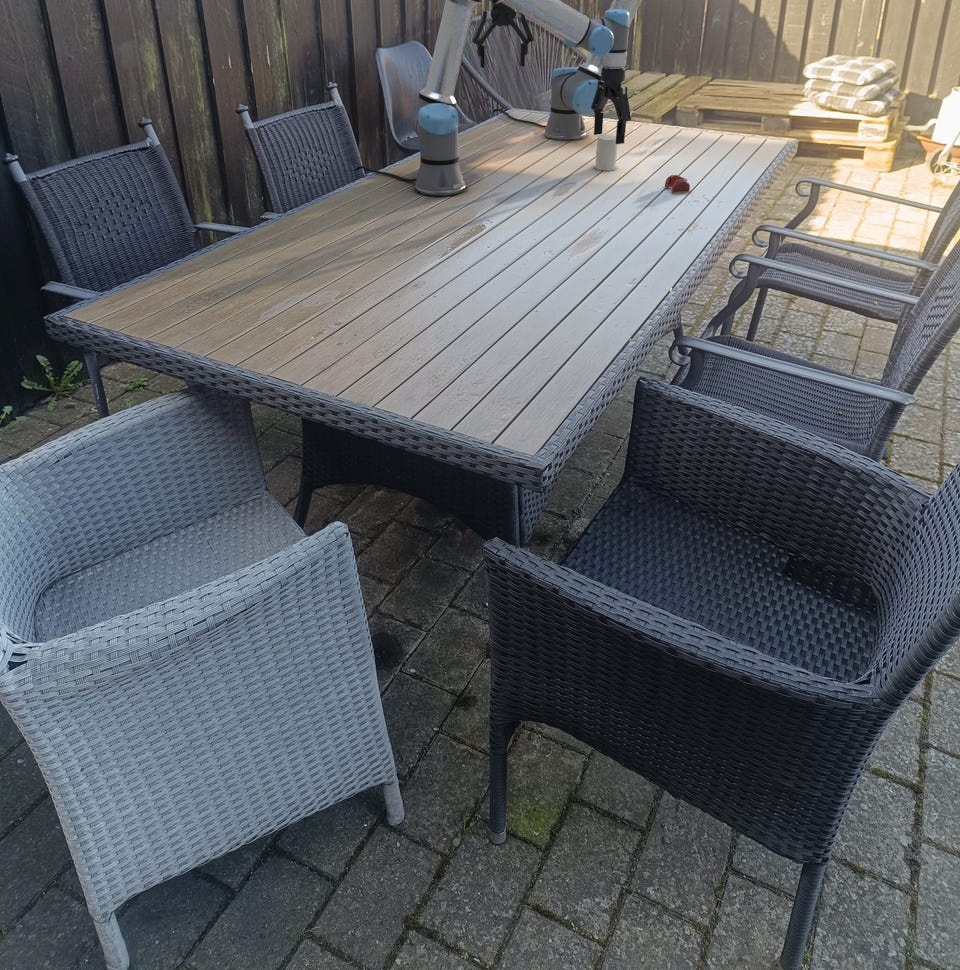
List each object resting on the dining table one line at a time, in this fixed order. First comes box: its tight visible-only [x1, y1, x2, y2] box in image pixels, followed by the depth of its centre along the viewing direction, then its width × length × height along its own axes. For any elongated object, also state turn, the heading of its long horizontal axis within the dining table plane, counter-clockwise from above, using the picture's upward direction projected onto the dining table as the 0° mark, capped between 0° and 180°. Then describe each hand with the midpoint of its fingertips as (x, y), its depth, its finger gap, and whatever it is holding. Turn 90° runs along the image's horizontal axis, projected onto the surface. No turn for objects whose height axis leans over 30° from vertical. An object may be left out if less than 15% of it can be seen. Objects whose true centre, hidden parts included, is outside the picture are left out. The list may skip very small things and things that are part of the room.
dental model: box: [664, 174, 691, 193], centre depth 257 cm, size 6×4×8 cm
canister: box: [594, 134, 618, 172], centre depth 275 cm, size 7×7×10 cm
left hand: (608, 138), depth 273 cm, fingers open, 13 cm apart
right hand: (502, 66), depth 279 cm, fingers open, 13 cm apart
